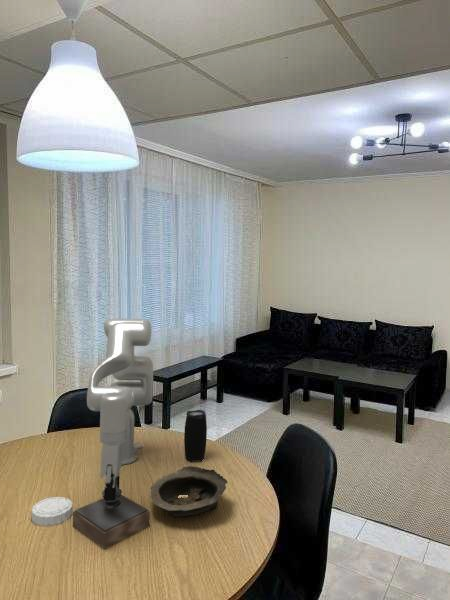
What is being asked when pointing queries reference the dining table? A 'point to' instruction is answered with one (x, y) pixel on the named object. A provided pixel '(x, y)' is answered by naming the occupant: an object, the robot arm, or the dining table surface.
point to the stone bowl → (188, 491)
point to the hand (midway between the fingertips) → (112, 493)
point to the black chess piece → (118, 493)
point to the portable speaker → (195, 435)
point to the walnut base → (110, 521)
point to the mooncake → (52, 511)
